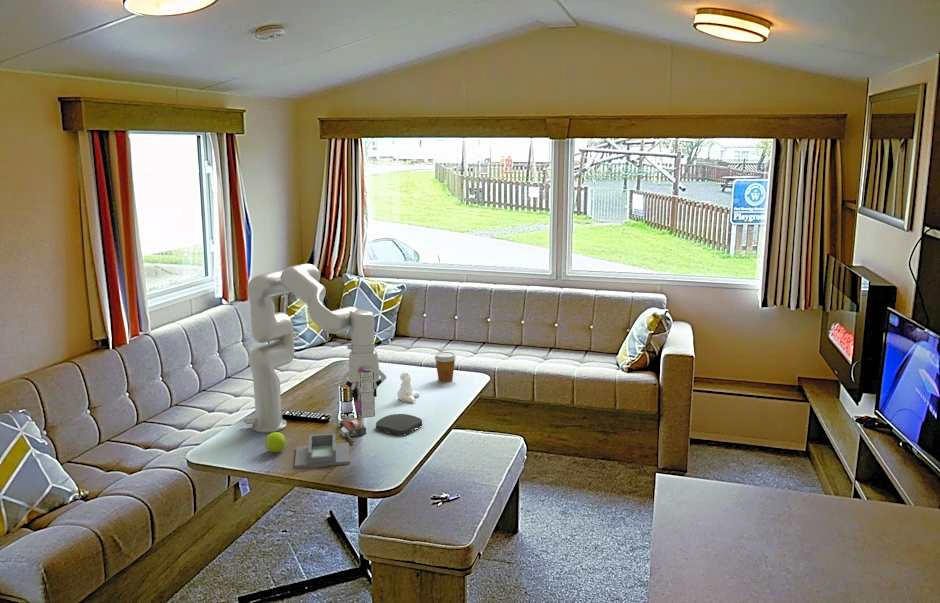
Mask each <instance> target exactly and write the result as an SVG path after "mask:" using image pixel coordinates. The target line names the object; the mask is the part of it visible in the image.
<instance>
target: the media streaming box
mask: <svg viewBox="0 0 940 603" xmlns="http://www.w3.org/2000/svg"><path fill="white" fill-rule="evenodd" d="M420 426H423V420H422V418H420V417H417V416H415V415H412V414H406V413H396V414H395V413H394V414H389V415H386V416H384V417H382V418H380V419H378V420H377V421H376V423H375V430H376V429H377V430H376V431H378V430H379V431H378V432H382V433H385V434H389V433H390V435H393V434H394V436H398V435H402V436H405V435H404V434H408V433H410V432H412V431H414V430H415V428H419V427H420ZM420 428H421V427H420ZM420 428H419V429H420ZM415 431H416V430H415ZM415 431H414V432H415ZM412 433H413V432H412ZM395 434H396V435H395ZM410 434H411V433H410ZM408 435H409V434H408Z"/></svg>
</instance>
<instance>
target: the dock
mask: <svg viewBox="0 0 940 603" xmlns="http://www.w3.org/2000/svg"><path fill="white" fill-rule="evenodd" d="M336 439H337V438H336V433H323V434H322V433H321V434H309V436H308V445H298V446H296V447H295V448H296V450H295V457H294V469H302V468H315V467H327V466H328V465H330V466H342V465H343V464H344V465H350V464H351V461H350V460H351V459H350V458H351V457H350V442H338V443H337V440H336ZM328 467H329V466H328Z"/></svg>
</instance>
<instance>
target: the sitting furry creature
mask: <svg viewBox="0 0 940 603" xmlns="http://www.w3.org/2000/svg"><path fill="white" fill-rule="evenodd" d="M399 377H400V380H401V381H402V382H401V384H400V387H399V389H398V391H397V395H396V396H397V397H398V399H399V400H400V401H403V402H406V401H407V402H406V403H410V402H411V403H410V404H415V403H416V401H417V399H416V398H420V392H419V391H417V390H413V388H412V384H411V381H412V379H411V375H410V374H409V371H403V372H402V373H400V375H399ZM414 397H415V398H414ZM414 402H415V403H414Z"/></svg>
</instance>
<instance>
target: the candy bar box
mask: <svg viewBox="0 0 940 603" xmlns="http://www.w3.org/2000/svg"><path fill="white" fill-rule="evenodd" d="M355 388H356V401H354V407H355V409H356V411H357V413H358V414H359V416H360V418H362V419H365V418H366V419H367V418H374V417H376V412H375V411H376V410H375V408H376V407H375V406H376V405H375V403H376V402H375V400H374V371H373V369H372V368H371V369H370V368H369V369H358V383H356V386H355Z"/></svg>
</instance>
